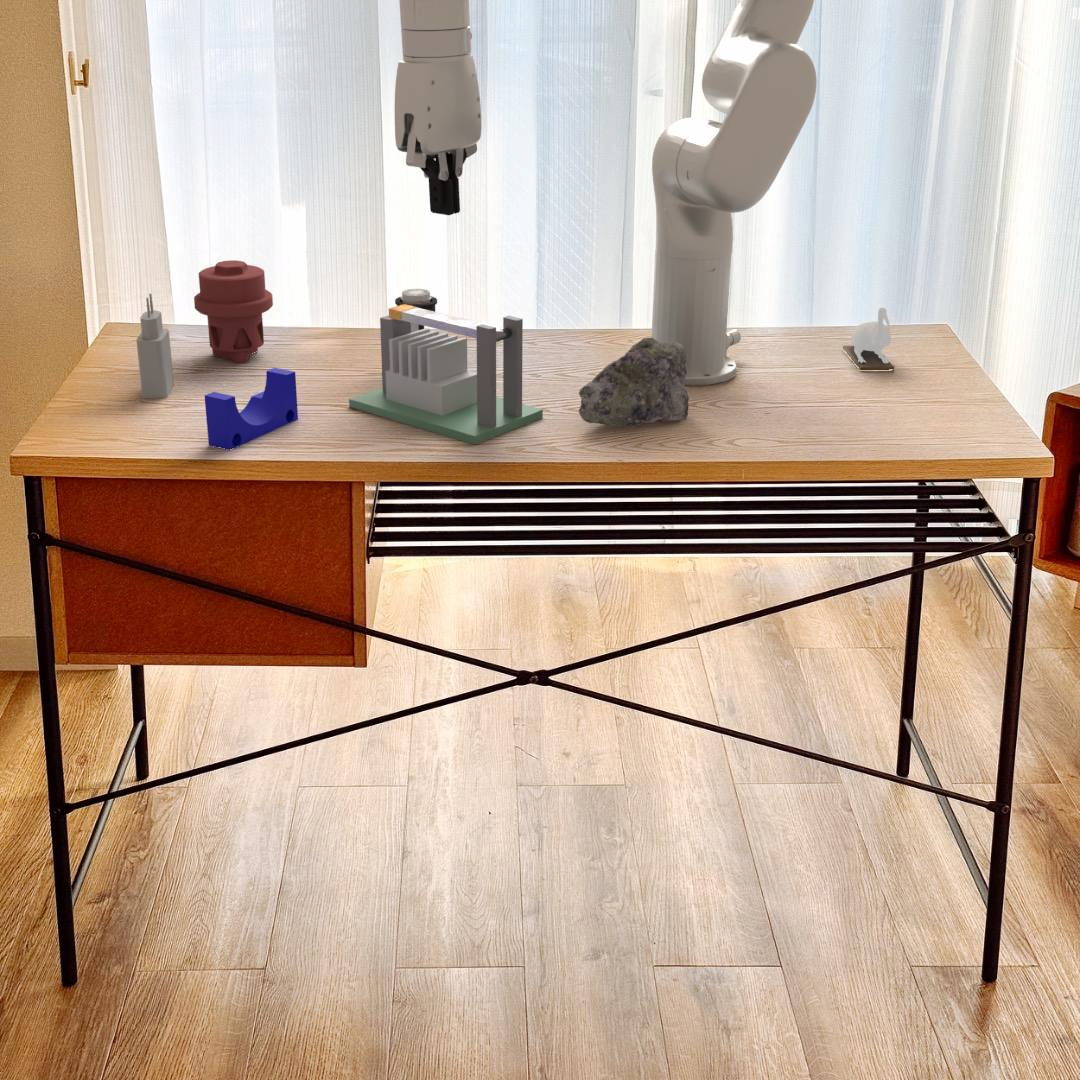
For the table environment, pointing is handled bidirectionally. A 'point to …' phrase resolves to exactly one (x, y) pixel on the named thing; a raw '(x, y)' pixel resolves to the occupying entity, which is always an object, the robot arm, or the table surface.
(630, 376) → the mineral rock
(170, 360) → the power adapter
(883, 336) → the figurine
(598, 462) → the table surface
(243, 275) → the mechanical component
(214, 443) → the blue cradle bracket
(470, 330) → the hinged grey bar
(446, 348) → the board
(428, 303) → the push button
